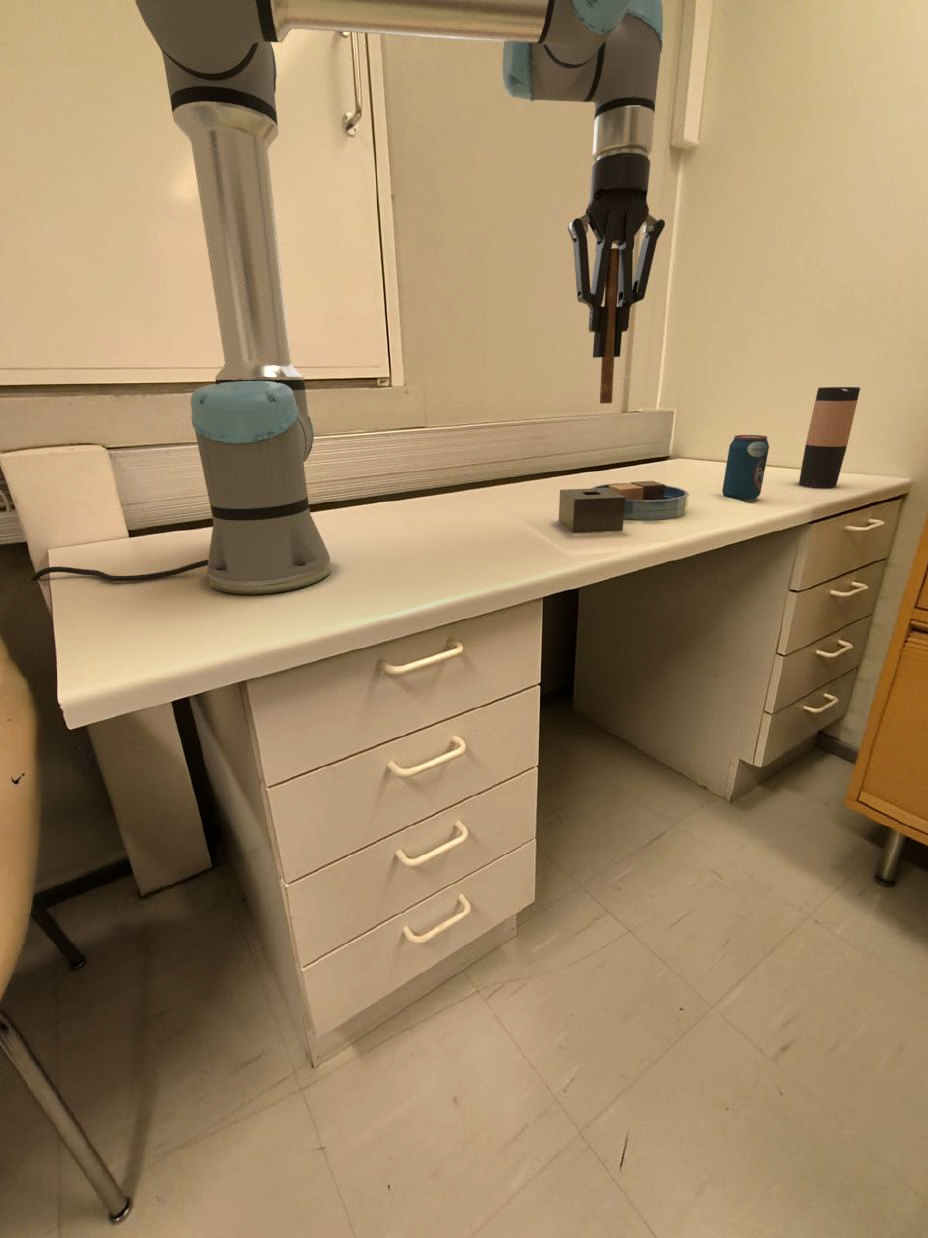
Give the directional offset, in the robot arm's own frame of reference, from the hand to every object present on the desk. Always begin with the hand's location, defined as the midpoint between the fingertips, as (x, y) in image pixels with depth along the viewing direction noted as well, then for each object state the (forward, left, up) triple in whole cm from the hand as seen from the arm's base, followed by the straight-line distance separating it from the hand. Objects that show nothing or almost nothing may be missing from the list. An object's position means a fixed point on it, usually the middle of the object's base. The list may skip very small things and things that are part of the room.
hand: (606, 356), depth 83 cm
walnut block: (+13, +10, -25) cm, 30 cm away
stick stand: (-1, -1, -26) cm, 26 cm away
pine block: (+8, +8, -25) cm, 28 cm away
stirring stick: (0, -1, -6) cm, 7 cm away
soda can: (+36, +17, -26) cm, 47 cm away
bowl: (+11, +9, -26) cm, 30 cm away
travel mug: (+60, +27, -26) cm, 71 cm away
